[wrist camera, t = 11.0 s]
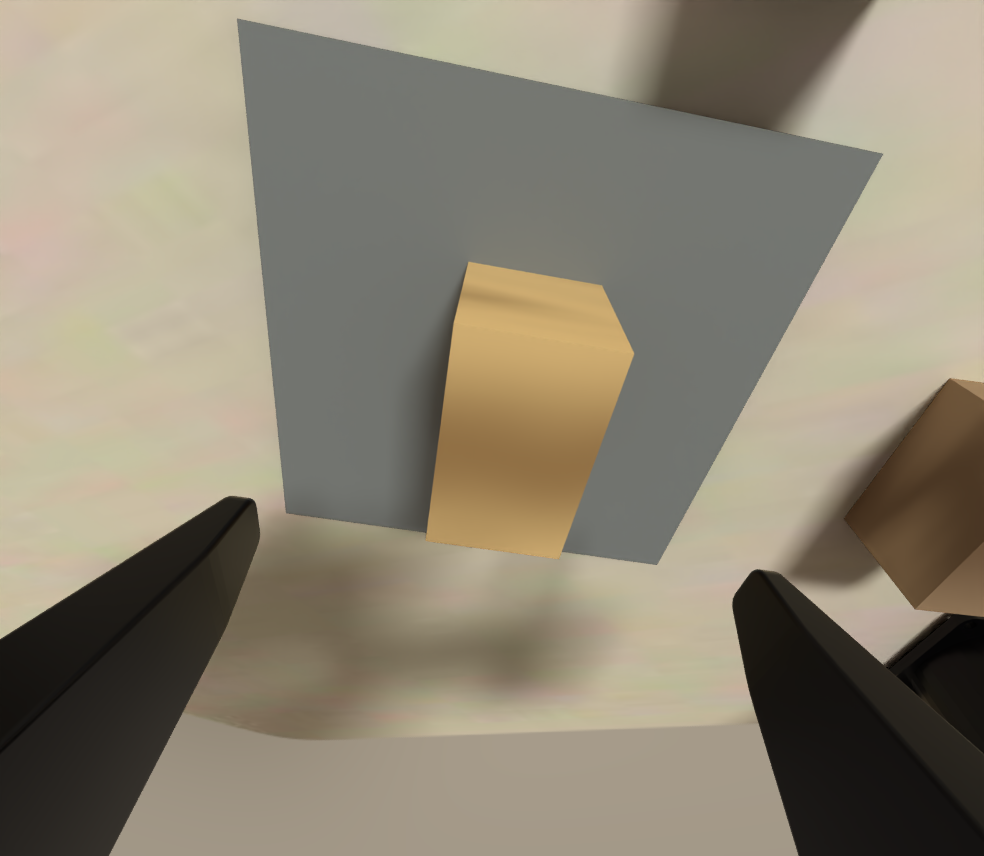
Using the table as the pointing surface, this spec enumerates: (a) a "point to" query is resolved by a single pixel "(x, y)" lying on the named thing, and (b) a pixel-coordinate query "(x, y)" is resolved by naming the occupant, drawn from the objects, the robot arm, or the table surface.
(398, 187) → the grey mat
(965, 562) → the walnut block
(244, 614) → the table surface
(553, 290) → the honey block
